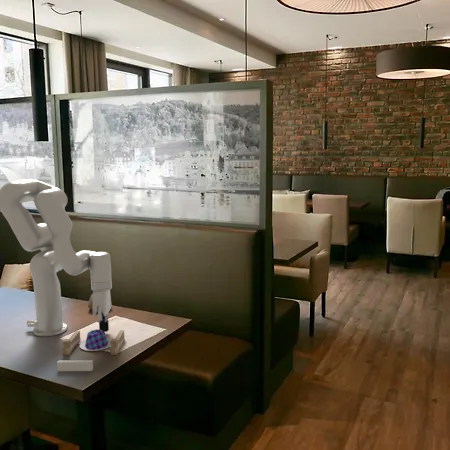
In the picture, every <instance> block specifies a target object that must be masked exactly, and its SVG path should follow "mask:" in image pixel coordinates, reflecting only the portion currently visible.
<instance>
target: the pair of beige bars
mask: <svg viewBox="0 0 450 450" xmlns="http://www.w3.org/2000/svg"><path fill="white" fill-rule="evenodd" d="M110 339H111V341H110V345H111V346H110V355H111V356H117V355H118V354H117V353H119V350H120V349H121V346H122V345H123V342H124V341H125V330H119V331H118V333H117V335H116V336H115V338H110ZM80 341H81V330H75V331H74V332H73V334H72V335H70V337H69V338H64V339H63V341H62V342H61V343H62V354H63V356H70V355H71V354H72V351H73V350H74V348H76V346H77V345H78V344H79V342H80Z"/></svg>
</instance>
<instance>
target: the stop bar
mask: <svg viewBox="0 0 450 450" xmlns="http://www.w3.org/2000/svg"><path fill="white" fill-rule="evenodd" d="M56 363H57V364H56V365H57V372H93V370H94V361H93V359H91V360H90V359H85V360H84V359H81V360H80V359H74V360H71V359H70V360H69V359H68V360H66V359H65V360H61V359H60V360H58V361H57V362H56Z"/></svg>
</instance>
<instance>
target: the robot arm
mask: <svg viewBox="0 0 450 450" xmlns="http://www.w3.org/2000/svg"><path fill="white" fill-rule="evenodd" d="M27 202H33V203H34V206H35V208H36V210H37V212H38V213H39V215H40V216H41V218H42V220H43V221H44V222H41V223H37V222H36V221H35V219H34V218H33V215H32V214H31V212H30V211H29V210H28V209H27V208H26V207H25V206H24V205H23V203H27ZM67 204H68V196H67V194H66V193H65V191H63V190H62V189H60V188H59V187H55V186H54V185H51V184H48V183H45V182H43V181H40V180H37V179H34V178H26V179H17V180H13V181H9V182H7V183H5V184H3V185H2V186H1V187H0V212H1V213H2V215H3V216H4V218H5V219H6V221H7V222H8V225H9V226H10V228H11V230H12V232H13V233H14V235H15V237H16V239H17V240H18V242H19V244H20V246H21V247H22V248H23V250H24V251H26V252H35V251H38V250H40V252H39V253H36V254H35V255H34V256H32V258H31V260H30V262H29V271H30V273H31V274H30V275H31V279H32V283H33V284H32V285H33V291H34V292H33V293H34V304H35V317H36V319H35V320H33V319H28V320H27V321H26V325H27V328H28V327H29V328H31V327H33V330H32V334H34V335H35V336H38V337H51V336H53V337H54V336H57V335H60V334H63V333H64V332H66V331H67V330H68V324H66V323H64V321H63V309H62V307H63V306H62V295H61V294H62V293H61V292H62V291H61V283H60V280H59V278H58V275H57V273H58V272H59V271H62V270H64V271H65V273H66V274H68V275H70V276H78V275H80V274H82V273H84V272H85V271H88V270H89V271H90V285H91V286H90V287H91V291H92V294H93V309H92V317H94V318H95V317H96V316H97V321H98V328H99V329H98V330H103V331H104V332H105V333H107V332H109V330H110V328H109V327H110V326H109V325H110V324H109V312H110V311H111V308H112V305H111V303H112V296H111V290H112V289H113V282H112V263H111V262H112V261H111V255H110V253H109V252H107V251H97V252H96V251H91V250H85V249H83V250H79V251H78V252H76V251H75V250H74V248H73V245H72V243H71V233H72V229H73V226H74V224H73V221H72V220H71V218H70V216H69V215H68V213H67V211H66V210H65V207H66V206H67Z"/></svg>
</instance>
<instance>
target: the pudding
mask: <svg viewBox="0 0 450 450" xmlns="http://www.w3.org/2000/svg"><path fill="white" fill-rule="evenodd" d="M111 339H112V338H109V337H107V334H106V332H104V331H103V330H99V329H92V330H90V331H88V333H87V335H86V339H85V340H83V341H82V342H81V343H79V348H80V349H81V350H84V351H89V352H93V351H97V352H98V351H102V350H106V349H108V348H111V345H110V341H111ZM108 344H109V345H108Z"/></svg>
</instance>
